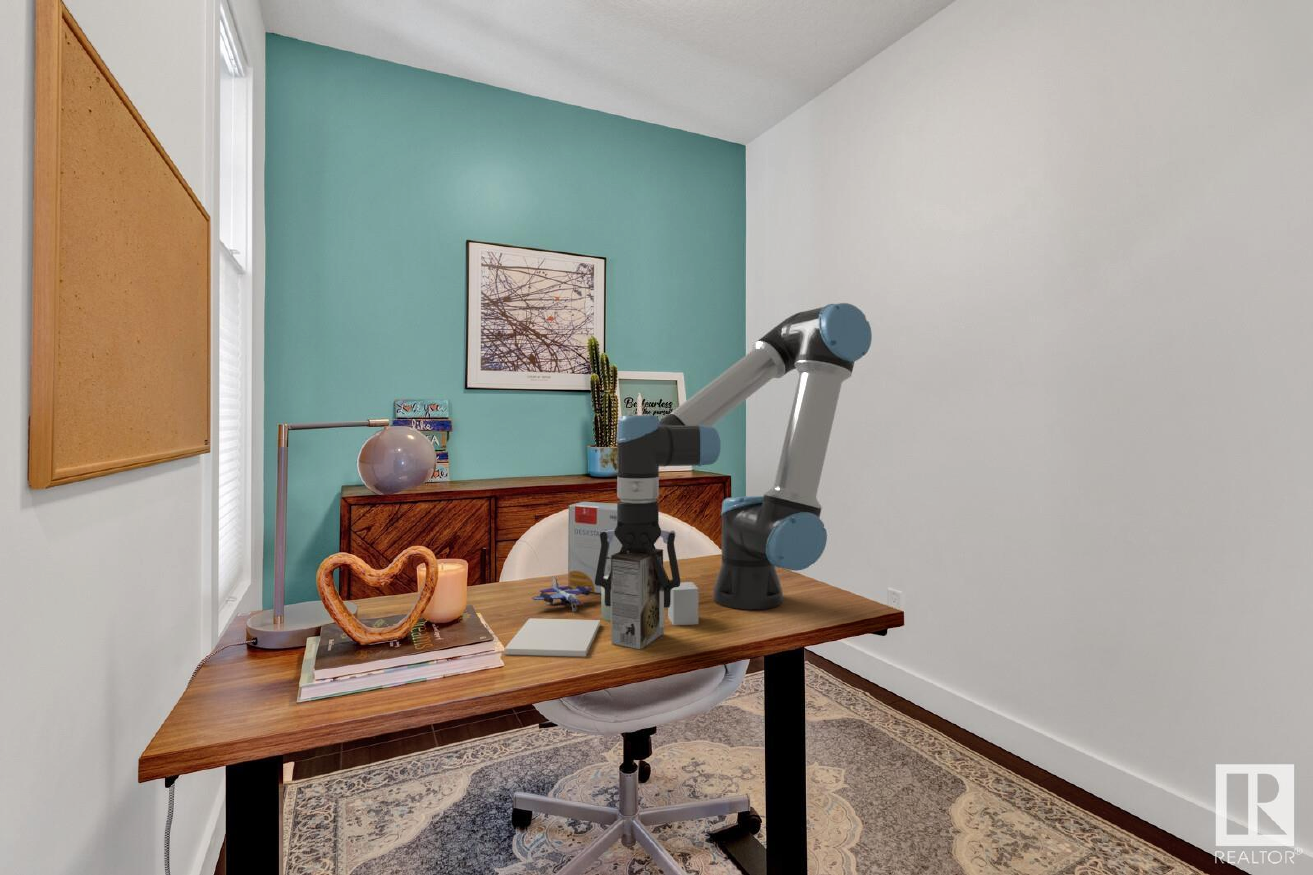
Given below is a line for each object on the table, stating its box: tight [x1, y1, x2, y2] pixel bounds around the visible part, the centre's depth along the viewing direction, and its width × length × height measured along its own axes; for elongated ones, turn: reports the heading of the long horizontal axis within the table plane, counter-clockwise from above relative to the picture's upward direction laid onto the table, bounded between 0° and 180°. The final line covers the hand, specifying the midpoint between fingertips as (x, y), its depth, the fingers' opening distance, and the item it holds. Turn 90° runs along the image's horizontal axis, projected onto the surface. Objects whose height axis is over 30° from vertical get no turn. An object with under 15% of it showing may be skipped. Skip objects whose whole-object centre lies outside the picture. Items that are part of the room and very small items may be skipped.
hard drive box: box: [567, 501, 622, 594], centre depth 147 cm, size 16×8×20 cm, turn 67°
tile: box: [504, 618, 601, 658], centre depth 115 cm, size 14×16×1 cm
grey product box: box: [610, 548, 665, 650], centre depth 115 cm, size 9×6×16 cm
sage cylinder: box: [600, 575, 611, 622], centre depth 127 cm, size 5×5×8 cm
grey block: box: [667, 581, 700, 626], centre depth 126 cm, size 5×5×7 cm
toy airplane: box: [531, 576, 592, 613], centre depth 134 cm, size 13×14×4 cm
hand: (637, 623), depth 115 cm, fingers closed on grey product box, 8 cm apart
